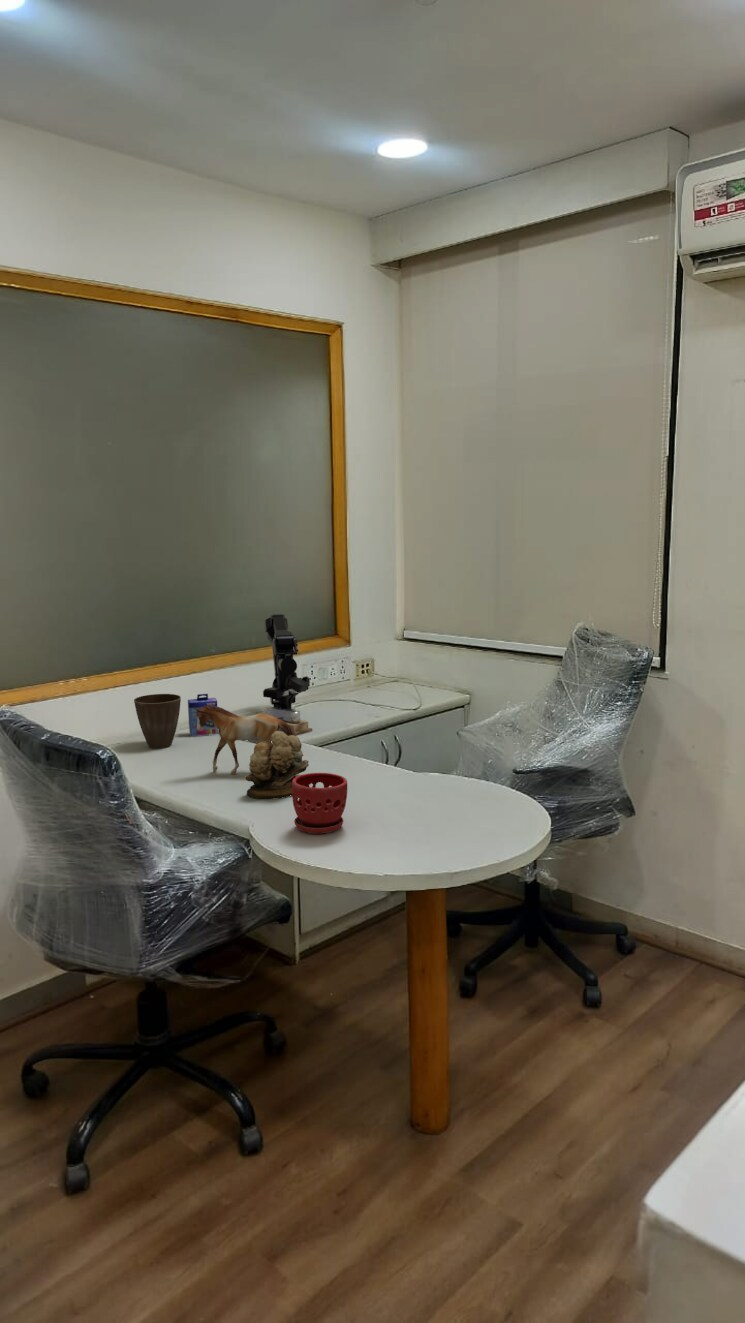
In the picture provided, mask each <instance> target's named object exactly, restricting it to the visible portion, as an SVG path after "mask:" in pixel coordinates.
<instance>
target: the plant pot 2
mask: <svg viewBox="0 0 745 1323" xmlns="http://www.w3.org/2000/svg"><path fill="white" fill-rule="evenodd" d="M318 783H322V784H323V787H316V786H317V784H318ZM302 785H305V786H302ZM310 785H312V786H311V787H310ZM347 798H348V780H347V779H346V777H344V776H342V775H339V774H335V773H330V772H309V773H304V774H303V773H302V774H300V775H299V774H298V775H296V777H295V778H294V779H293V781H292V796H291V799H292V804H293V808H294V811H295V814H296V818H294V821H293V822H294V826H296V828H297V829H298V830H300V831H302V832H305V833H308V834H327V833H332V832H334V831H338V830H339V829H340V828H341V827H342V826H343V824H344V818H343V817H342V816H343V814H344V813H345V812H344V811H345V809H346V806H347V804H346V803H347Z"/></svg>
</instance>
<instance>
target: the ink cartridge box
mask: <svg viewBox="0 0 745 1323" xmlns="http://www.w3.org/2000/svg"><path fill="white" fill-rule="evenodd" d="M207 705H212V706H217V707H218V700H217V698H216V697H209V694H208V693H203V694H202V693H200V694H199V693H198V694H197V697H196V698H193V699H192V698H191V699H190V698H189V699H187V712H188V715H187V716H188V729H189V736H190V737H191V736H193V737H198V736H197V735H205V736H210V735H209V734H218V735H219V729H218V728H217V727H216V725H215V724H214V723H213V721H212V720H211V719H209V720H208V721H207V722H206V724H205V725H204V729H203V730H202V731H199V730H198V729H197V716H196V715H197V714H196V711H197V710H196V709H194V708H201V707H203V706H207Z"/></svg>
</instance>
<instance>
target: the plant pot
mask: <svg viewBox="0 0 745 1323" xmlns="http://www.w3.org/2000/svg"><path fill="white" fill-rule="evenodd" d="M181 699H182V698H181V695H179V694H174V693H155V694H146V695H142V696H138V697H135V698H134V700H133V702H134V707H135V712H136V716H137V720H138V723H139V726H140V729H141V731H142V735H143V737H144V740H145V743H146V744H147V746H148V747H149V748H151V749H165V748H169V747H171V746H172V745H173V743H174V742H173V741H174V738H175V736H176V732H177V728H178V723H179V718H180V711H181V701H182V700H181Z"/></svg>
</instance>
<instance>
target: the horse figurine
mask: <svg viewBox="0 0 745 1323" xmlns="http://www.w3.org/2000/svg"><path fill="white" fill-rule="evenodd" d="M194 709H196V710H197V711H196V714H197V715H196V716H197V729H198V730H199V731H202V730H203V729H204V725H205V724H206V722H207V721H208V720H209V719H211V720H212V721H213V723H214V724H215V725H216V727H217V728H218V733H219V734H218V735H219V737H220V739H219V742H218V745H217V747H216V749H215V752H214V757H213V760H212V771H213V772H214V773H215V772H217V770H218V768H219V767H218V765H217V760H218V755H219V754H220V752H221V750H223V748H224V747H225V746H226V745H227V746H228V747H229V749H230V751H231V754H232V757H233V760H234V764H235V766H234V767H233V769H232V770H231V772H230V775H236V774H237V773H238V768H239V767H240V764H239V760H238V759H239V758H238V751H237V747H236V743H235V742H236V741H244V740H247V739H252V738H254V737H258V739H259V740H260V741H261V742H263V743H266V744H268V745H269V746H270V747H271V749H272V748H273V743H271V742H270V739H271V736H272V734H273V733H274V732H276V731H280V728H281V729H283V731H284V733H285V734H286V735H287V736H290V735H294V736H296V734H295V732H294V731H293V729H292V728H291V727H290V725H288V724H287V723H285V722H284V721H282V720H280V719H277V718H275V717H273V716H271V715H268V714H266V713H261V712H260V713H258V714H254V715H250V716H239V715H238V714H235V713H233V712H231V711H229V710H226V709H225V708H222V707H219V706H218V705H217V706H212V705H207V706H203V707H201V708H194ZM302 757H304V754H302Z"/></svg>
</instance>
